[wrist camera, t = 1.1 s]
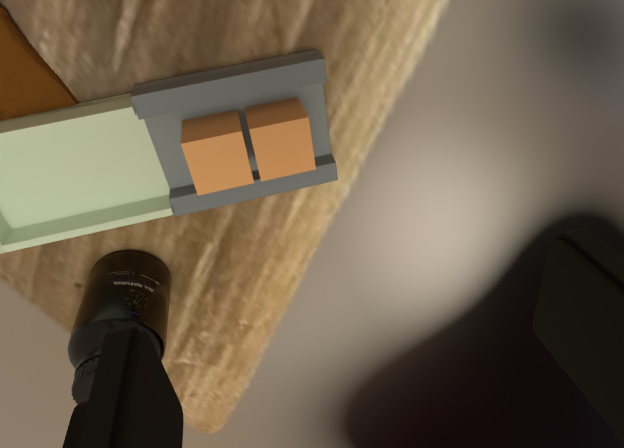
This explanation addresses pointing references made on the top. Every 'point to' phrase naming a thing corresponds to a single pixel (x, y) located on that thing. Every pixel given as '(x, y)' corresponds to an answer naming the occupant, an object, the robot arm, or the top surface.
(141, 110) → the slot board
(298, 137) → the orange cube
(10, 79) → the primitive tool
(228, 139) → the orange cube block
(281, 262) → the top surface
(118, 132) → the tray
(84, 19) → the top surface
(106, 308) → the supplement bottle
